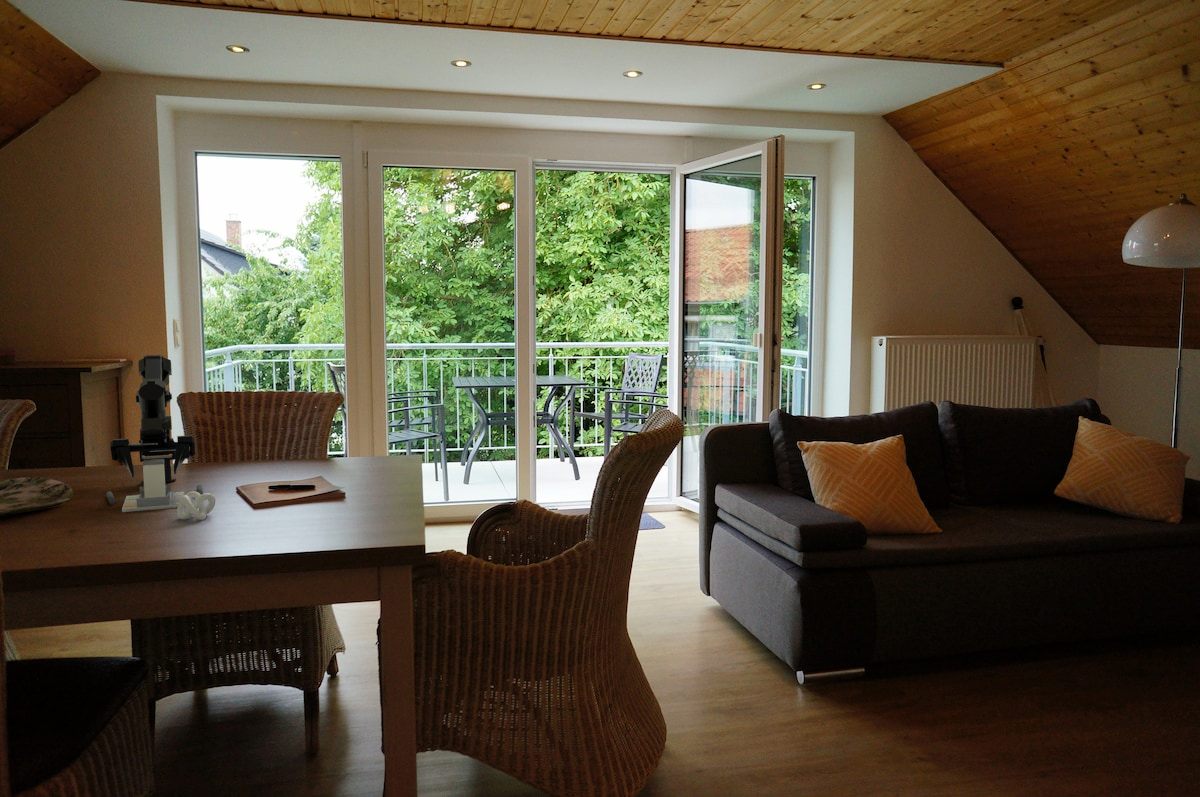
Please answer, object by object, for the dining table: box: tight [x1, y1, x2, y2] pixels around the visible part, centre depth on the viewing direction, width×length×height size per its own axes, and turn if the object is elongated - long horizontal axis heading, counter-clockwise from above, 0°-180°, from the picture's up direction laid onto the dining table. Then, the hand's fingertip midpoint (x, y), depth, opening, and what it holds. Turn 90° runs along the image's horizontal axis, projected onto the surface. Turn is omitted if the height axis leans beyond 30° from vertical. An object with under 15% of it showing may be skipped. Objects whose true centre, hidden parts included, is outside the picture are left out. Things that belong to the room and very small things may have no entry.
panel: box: [121, 484, 185, 513], centre depth 207 cm, size 16×13×3 cm
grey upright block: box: [142, 459, 166, 498], centre depth 210 cm, size 4×4×9 cm
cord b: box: [105, 491, 117, 506], centre depth 209 cm, size 12×1×1 cm, turn 34°
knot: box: [176, 490, 216, 521], centre depth 192 cm, size 8×8×6 cm
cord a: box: [196, 484, 204, 495], centre depth 218 cm, size 12×1×1 cm, turn 26°
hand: (154, 474), depth 209 cm, fingers open, 9 cm apart
